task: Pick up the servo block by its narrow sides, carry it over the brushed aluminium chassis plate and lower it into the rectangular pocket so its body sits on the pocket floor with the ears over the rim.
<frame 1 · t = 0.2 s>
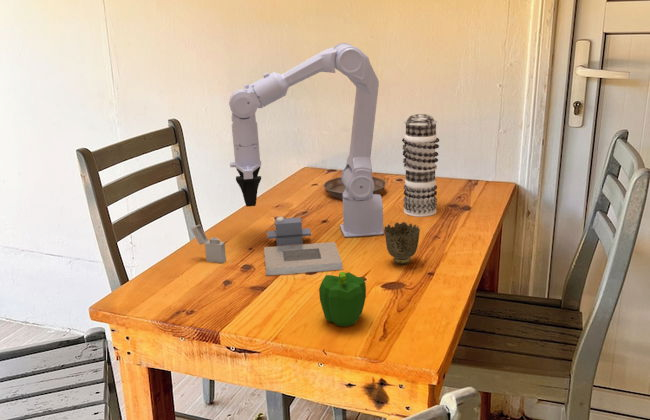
hand: (250, 200, 158), 10 cm above the table, tool pointing down, fingers open, 7 cm apart
lighter: (210, 260, 151), on the table
cup: (402, 263, 145), on the table
chassis: (302, 261, 148), on the table
bell pepper: (342, 321, 122), on the table
decorative candle: (420, 212, 176), on the table
servo: (289, 242, 159), on the table
plant saucer: (354, 194, 194), on the table
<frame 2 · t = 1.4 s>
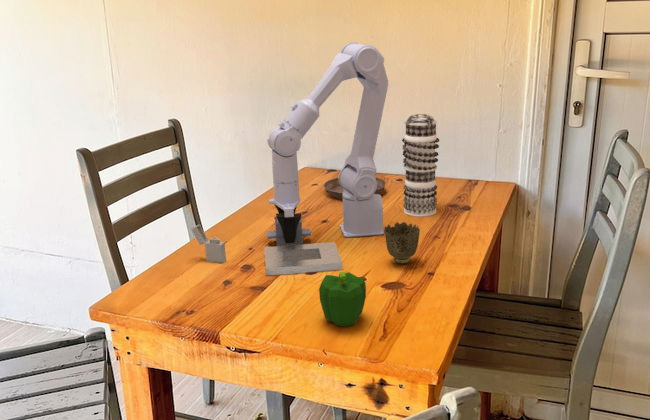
hand: (288, 236, 158), 1 cm above the table, tool pointing down, fingers open, 7 cm apart
nothing on the table moved.
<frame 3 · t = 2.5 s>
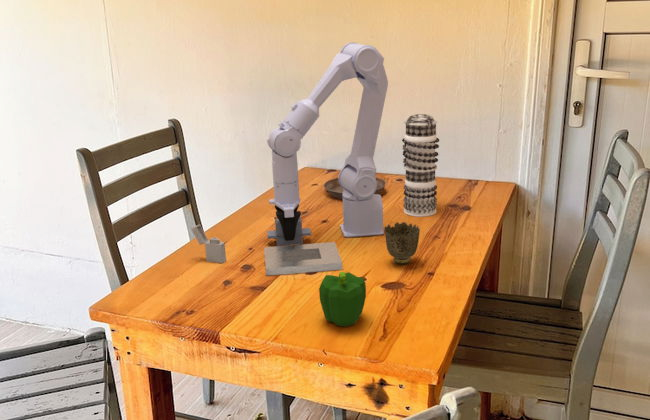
hand: (289, 236, 158), 1 cm above the table, tool pointing down, fingers closed on servo, 3 cm apart
servo: (289, 242, 159), on the table, touching gripper
everything else where it was.
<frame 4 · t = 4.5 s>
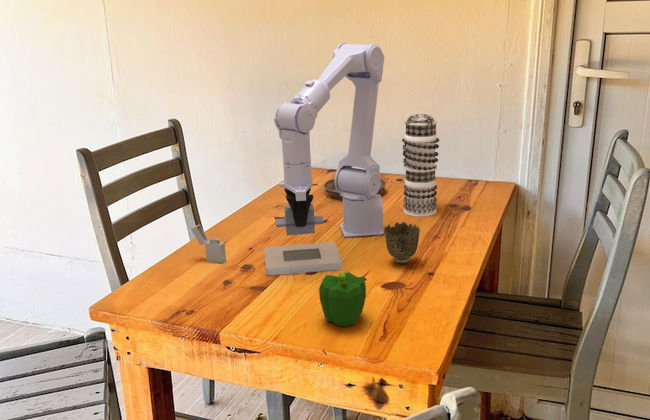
hand: (300, 223, 145), 9 cm above the table, tool pointing down, fingers closed on servo, 3 cm apart
servo: (300, 231, 145), point 7 cm above the table, touching gripper
everything else where it was.
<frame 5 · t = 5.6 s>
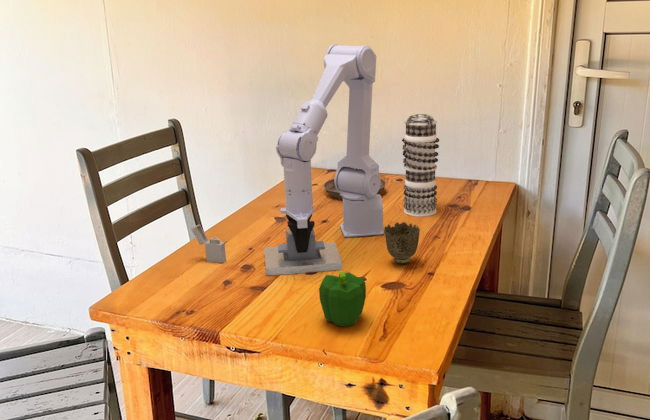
hand: (301, 248, 147), 3 cm above the table, tool pointing down, fingers closed on servo, 3 cm apart
servo: (301, 256, 147), point 1 cm above the table, touching gripper
everything else where it was.
when the fingers open (3 cm above the table, at t = 6.4 s): servo stays where it is, resting on chassis.
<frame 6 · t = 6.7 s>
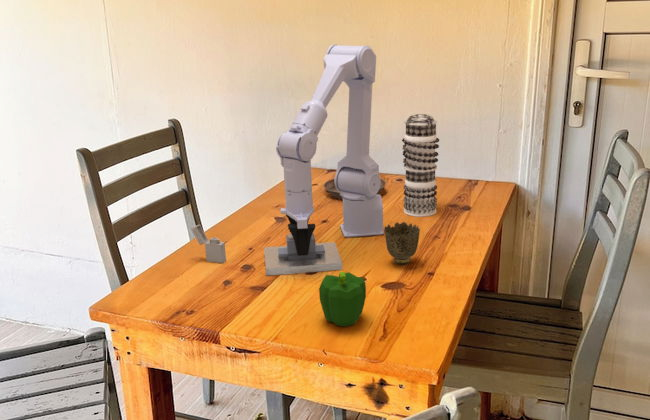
hand: (301, 248, 147), 3 cm above the table, tool pointing down, fingers open, 6 cm apart
servo: (301, 260, 148), resting on chassis
everything else where it was.
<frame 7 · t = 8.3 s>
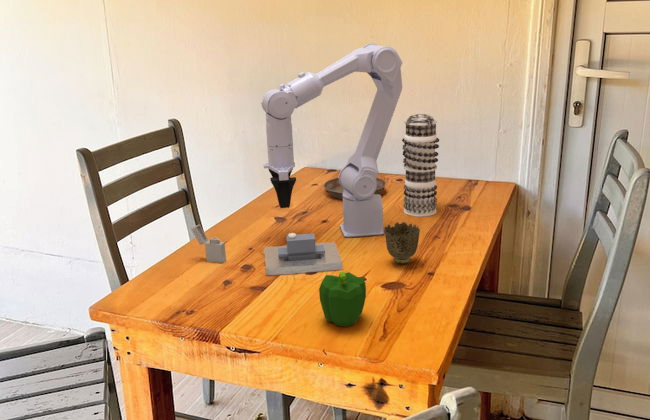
hand: (283, 202, 156), 10 cm above the table, tool pointing down, fingers open, 7 cm apart
nothing on the table moved.
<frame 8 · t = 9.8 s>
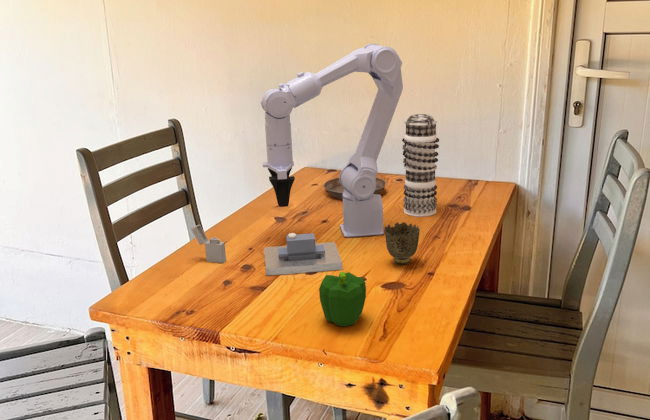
hand: (282, 201, 156), 10 cm above the table, tool pointing down, fingers open, 7 cm apart
nothing on the table moved.
at the end: servo 0.1 cm off-centre on the chassis, point 0.2 cm above the chassis's base; servo tilted 0°; the gripper is holding nothing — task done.
